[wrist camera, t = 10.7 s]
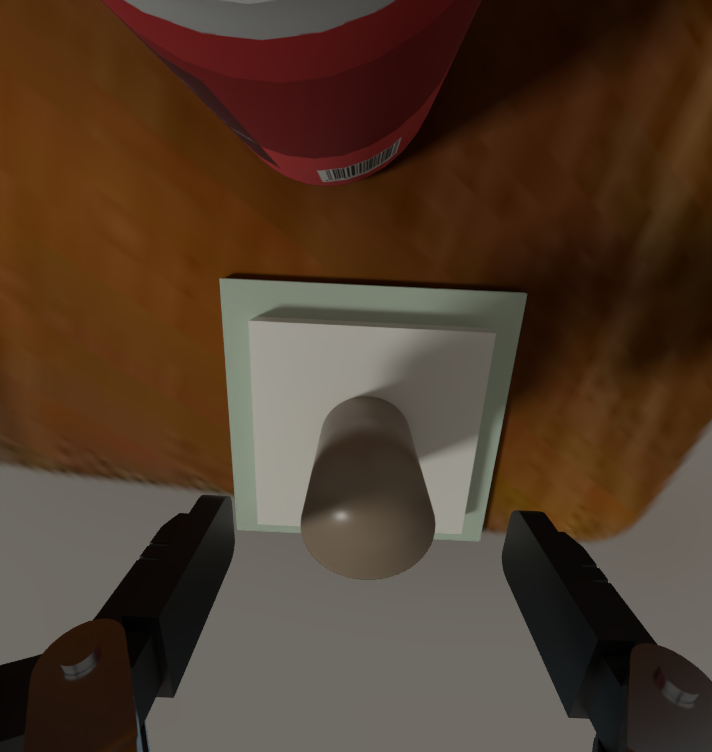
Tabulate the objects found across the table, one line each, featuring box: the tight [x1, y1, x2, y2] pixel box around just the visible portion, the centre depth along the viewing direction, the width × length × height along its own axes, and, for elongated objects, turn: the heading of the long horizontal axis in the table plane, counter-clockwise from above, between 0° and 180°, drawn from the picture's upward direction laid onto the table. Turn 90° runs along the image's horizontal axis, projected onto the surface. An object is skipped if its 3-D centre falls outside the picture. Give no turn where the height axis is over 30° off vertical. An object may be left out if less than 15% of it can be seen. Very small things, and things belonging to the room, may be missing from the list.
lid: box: [248, 316, 496, 580], centre depth 14 cm, size 10×10×7 cm
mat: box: [219, 278, 527, 541], centre depth 17 cm, size 13×13×1 cm
